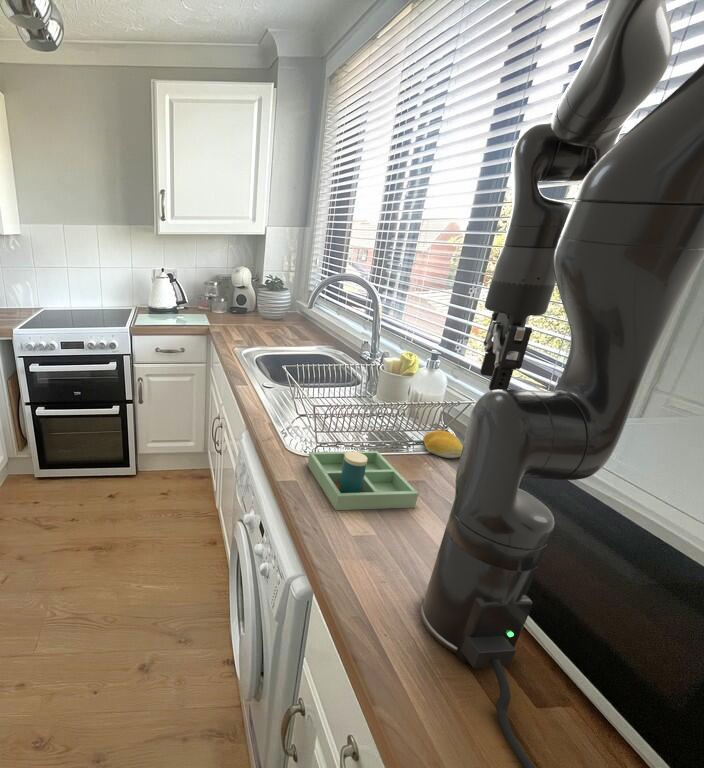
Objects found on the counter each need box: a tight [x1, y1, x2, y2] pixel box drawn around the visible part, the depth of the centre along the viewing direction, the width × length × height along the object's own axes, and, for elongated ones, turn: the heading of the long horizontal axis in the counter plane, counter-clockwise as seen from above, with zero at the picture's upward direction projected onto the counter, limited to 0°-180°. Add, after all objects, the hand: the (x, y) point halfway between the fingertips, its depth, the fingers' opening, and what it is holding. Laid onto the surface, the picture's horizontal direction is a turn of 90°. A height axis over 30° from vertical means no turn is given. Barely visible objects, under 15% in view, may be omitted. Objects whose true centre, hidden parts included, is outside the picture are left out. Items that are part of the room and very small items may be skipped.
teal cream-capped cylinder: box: [339, 450, 368, 493], centre depth 79 cm, size 4×4×8 cm
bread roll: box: [422, 429, 463, 459], centre depth 97 cm, size 8×9×4 cm
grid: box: [307, 450, 419, 511], centre depth 83 cm, size 15×15×3 cm
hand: (491, 382), depth 66 cm, fingers open, 8 cm apart
